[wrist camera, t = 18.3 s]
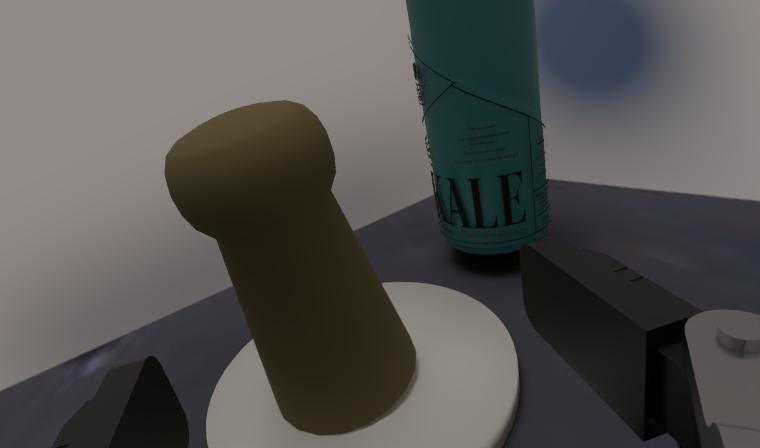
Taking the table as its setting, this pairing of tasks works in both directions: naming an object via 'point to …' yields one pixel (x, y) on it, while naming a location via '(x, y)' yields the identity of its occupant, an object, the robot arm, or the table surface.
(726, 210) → the table surface
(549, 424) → the table surface
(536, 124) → the beverage bottle
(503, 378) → the saucer
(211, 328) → the table surface
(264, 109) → the cork
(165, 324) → the table surface
